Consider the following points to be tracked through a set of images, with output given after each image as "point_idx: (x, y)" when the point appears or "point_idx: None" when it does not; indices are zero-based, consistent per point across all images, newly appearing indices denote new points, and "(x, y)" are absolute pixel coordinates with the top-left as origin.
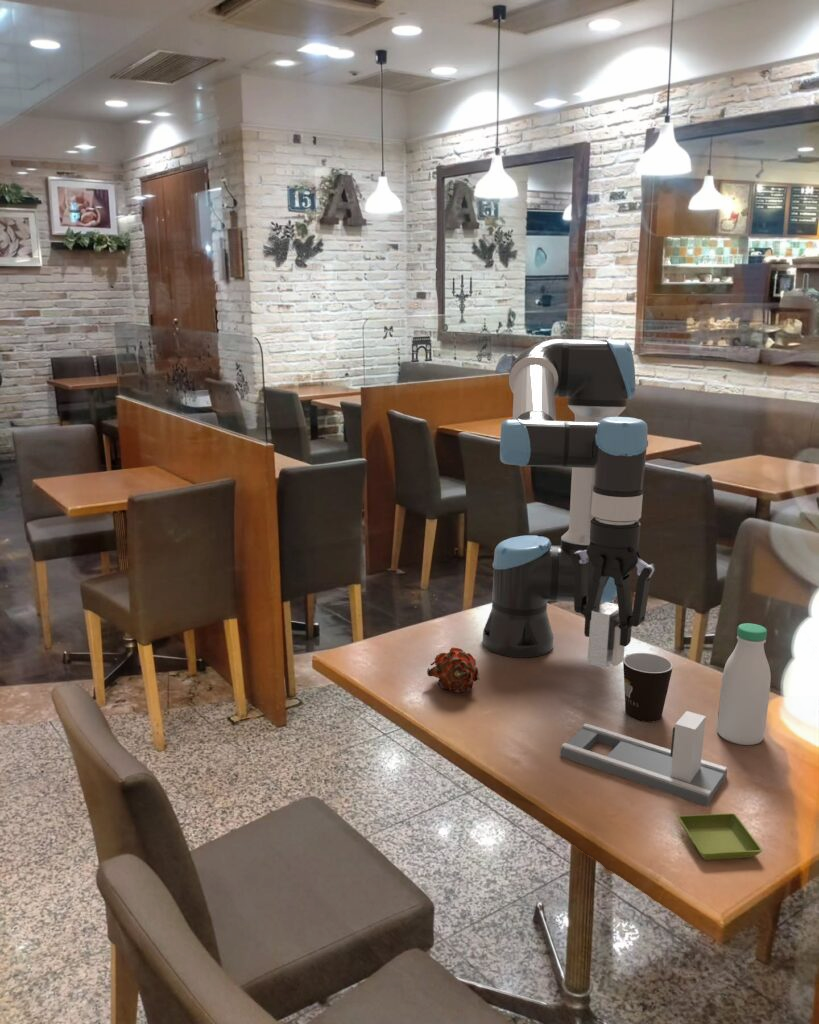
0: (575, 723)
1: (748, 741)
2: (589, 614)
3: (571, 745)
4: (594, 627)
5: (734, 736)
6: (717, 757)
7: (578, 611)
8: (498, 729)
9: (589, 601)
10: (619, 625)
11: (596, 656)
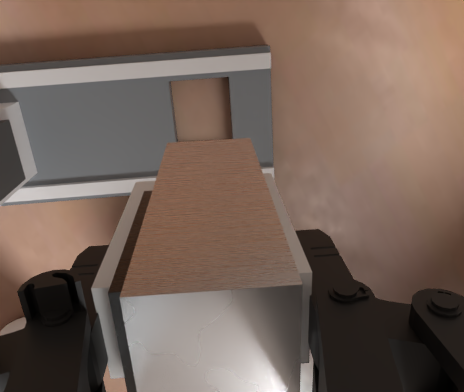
0: (305, 195)
1: (4, 328)
2: (334, 302)
3: (251, 66)
4: (249, 217)
5: (24, 324)
6: (24, 255)
7: (427, 297)
8: (439, 59)
9: (382, 385)
10: (77, 290)
11: (214, 154)
